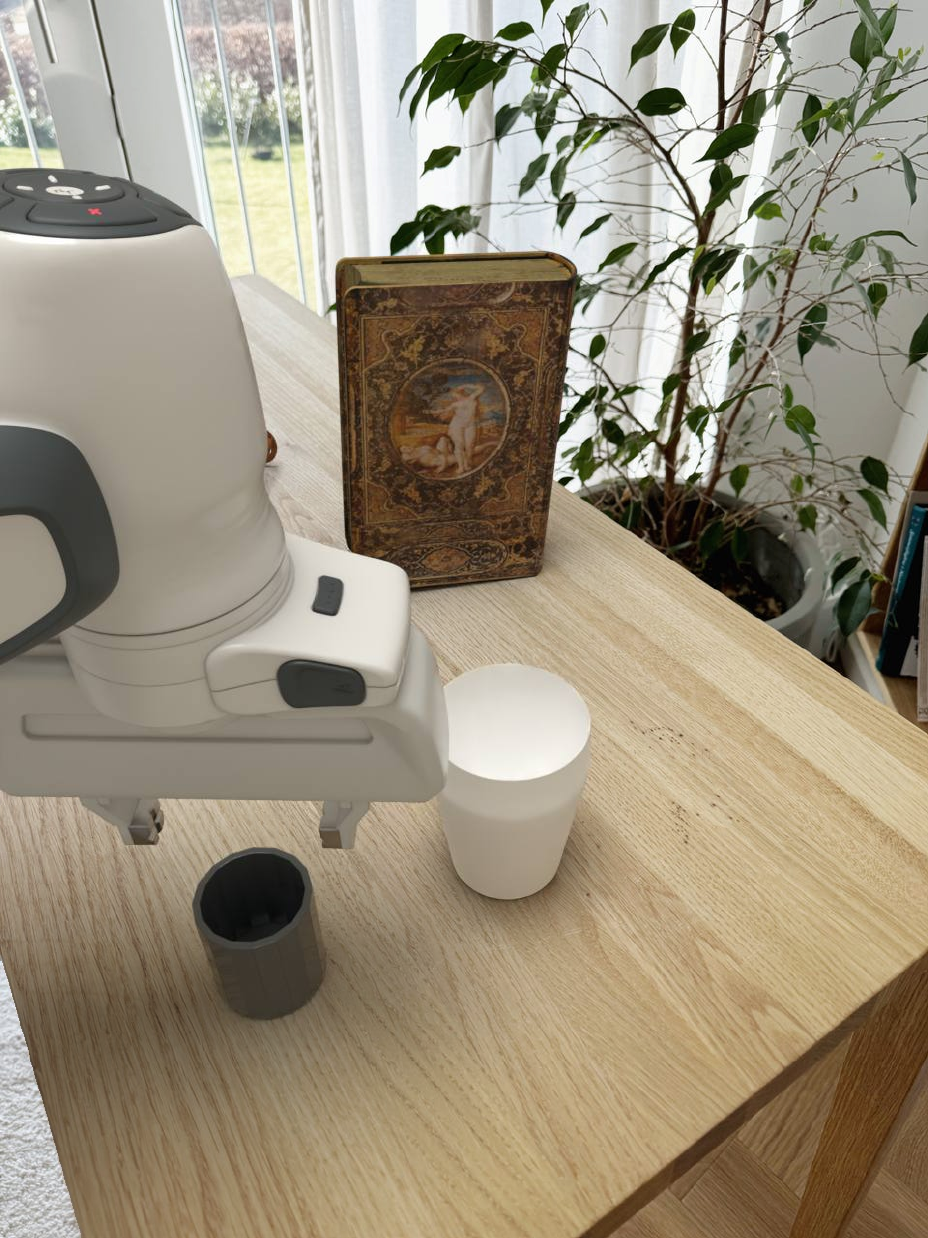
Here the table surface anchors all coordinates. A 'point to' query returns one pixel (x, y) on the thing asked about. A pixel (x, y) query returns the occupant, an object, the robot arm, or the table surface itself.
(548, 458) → the book
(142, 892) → the table surface
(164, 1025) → the table surface
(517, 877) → the cup
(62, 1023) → the table surface
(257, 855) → the grey tumbler
